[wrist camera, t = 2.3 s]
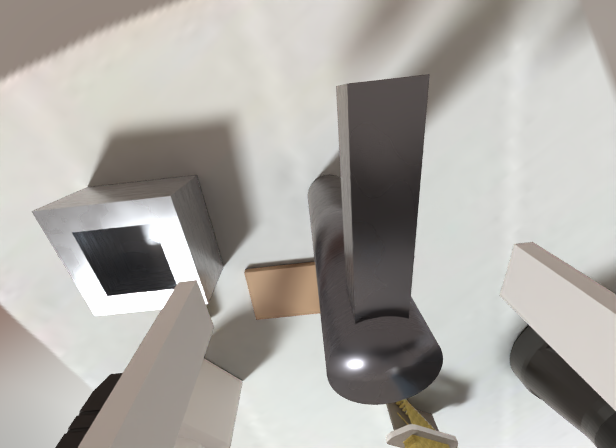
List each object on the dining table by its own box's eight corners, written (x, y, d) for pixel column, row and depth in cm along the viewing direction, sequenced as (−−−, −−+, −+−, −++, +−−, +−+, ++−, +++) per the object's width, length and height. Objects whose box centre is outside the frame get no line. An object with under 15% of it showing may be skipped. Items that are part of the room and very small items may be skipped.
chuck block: (196, 175, 21) (170, 195, 17) (239, 320, 28) (228, 363, 24) (86, 187, 22) (31, 211, 17) (156, 329, 29) (129, 373, 24)
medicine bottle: (196, 352, 30) (140, 494, 19) (244, 380, 33) (218, 520, 22) (159, 381, 32) (90, 525, 21) (207, 405, 35) (167, 546, 24)
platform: (383, 354, 32) (402, 412, 26) (490, 393, 36) (527, 450, 31) (333, 408, 37) (340, 468, 31) (434, 437, 41) (457, 495, 35)
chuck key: (350, 212, 23) (436, 398, 9) (309, 217, 23) (330, 409, 9) (346, 88, 19) (495, 66, 5) (296, 94, 19) (295, 89, 5)
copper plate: (317, 261, 26) (318, 264, 25) (322, 308, 28) (323, 312, 28) (245, 269, 26) (244, 272, 25) (257, 315, 28) (256, 319, 28)
